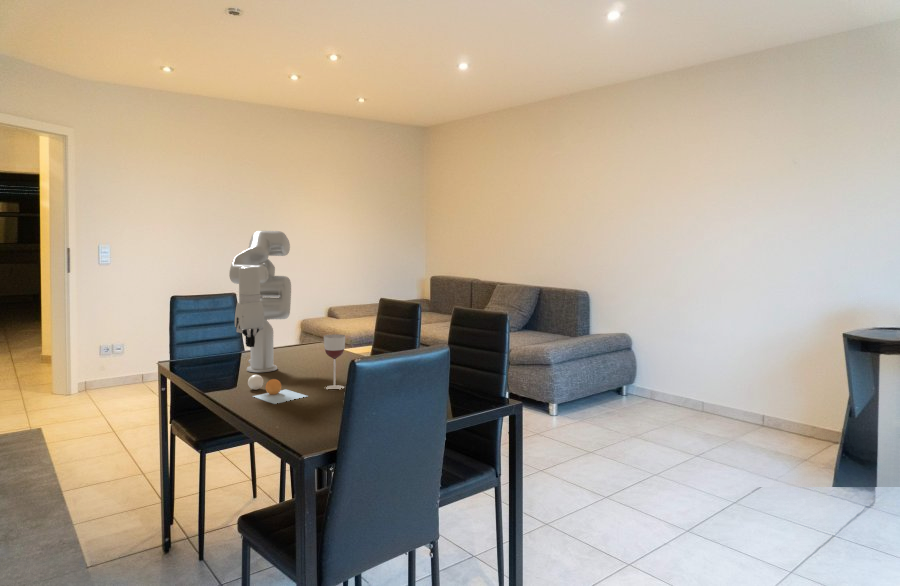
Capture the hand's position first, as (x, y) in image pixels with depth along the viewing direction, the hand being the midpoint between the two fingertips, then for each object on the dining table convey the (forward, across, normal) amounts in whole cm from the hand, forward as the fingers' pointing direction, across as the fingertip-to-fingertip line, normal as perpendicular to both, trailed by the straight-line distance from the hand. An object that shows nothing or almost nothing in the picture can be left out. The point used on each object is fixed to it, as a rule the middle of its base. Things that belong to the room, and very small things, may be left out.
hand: (250, 346), depth 222 cm
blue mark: (+15, +1, +22) cm, 27 cm away
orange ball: (+12, +1, +18) cm, 21 cm away
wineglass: (+15, -21, +25) cm, 36 cm away
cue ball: (+12, +2, +6) cm, 14 cm away
